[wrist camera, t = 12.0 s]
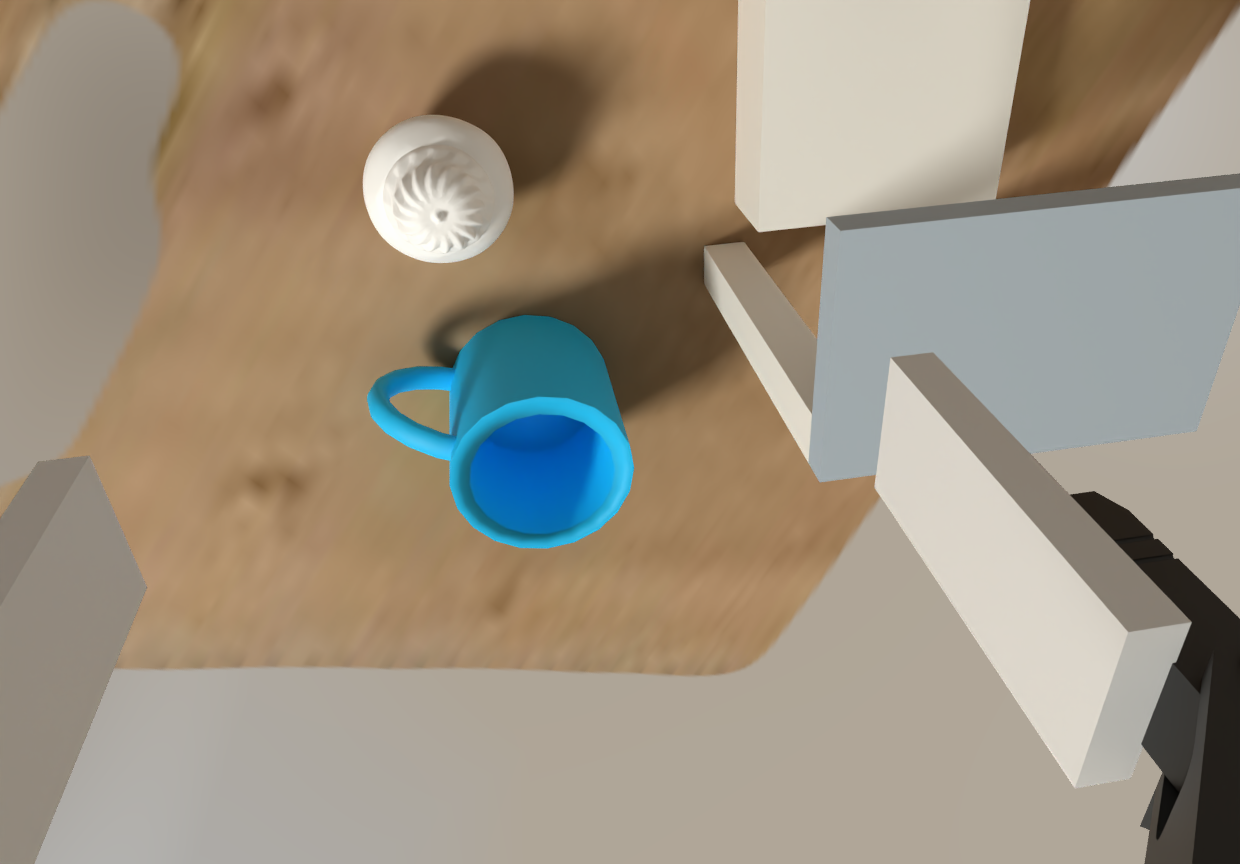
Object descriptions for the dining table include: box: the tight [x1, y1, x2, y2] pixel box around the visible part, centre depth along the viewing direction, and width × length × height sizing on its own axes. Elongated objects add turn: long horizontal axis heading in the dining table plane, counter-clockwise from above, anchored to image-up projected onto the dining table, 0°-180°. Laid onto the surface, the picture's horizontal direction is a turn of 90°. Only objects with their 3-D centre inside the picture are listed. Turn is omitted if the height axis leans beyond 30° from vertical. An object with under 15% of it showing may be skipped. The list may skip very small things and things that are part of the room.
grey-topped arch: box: [704, 174, 1240, 482], centre depth 37 cm, size 9×14×17 cm, turn 93°
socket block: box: [735, 0, 1030, 232], centre depth 38 cm, size 17×11×4 cm, turn 3°
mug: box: [367, 315, 634, 548], centre depth 44 cm, size 12×8×8 cm
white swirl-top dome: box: [363, 115, 514, 263], centre depth 38 cm, size 6×6×7 cm
